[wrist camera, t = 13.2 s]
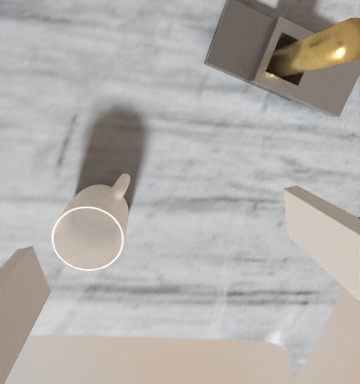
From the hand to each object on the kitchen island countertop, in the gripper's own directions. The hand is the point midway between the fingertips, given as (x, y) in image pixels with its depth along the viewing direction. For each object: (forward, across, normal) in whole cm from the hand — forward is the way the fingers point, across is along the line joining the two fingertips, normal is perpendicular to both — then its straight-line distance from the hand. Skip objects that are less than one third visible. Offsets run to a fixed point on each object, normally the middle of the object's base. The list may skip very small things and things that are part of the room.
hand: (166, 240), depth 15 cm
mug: (+29, -8, -5) cm, 30 cm away
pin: (+28, +20, +8) cm, 36 cm away
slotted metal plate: (+28, +20, +9) cm, 36 cm away
